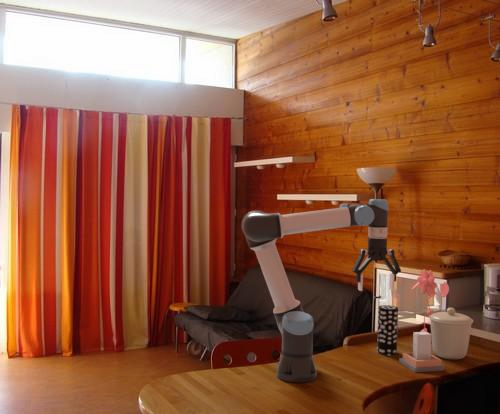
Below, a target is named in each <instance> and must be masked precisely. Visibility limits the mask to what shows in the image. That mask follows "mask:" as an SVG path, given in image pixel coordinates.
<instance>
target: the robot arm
mask: <svg viewBox="0 0 500 414" xmlns="http://www.w3.org/2000/svg"><path fill="white" fill-rule="evenodd" d="M388 220H389V201H388V200H387V199H384V198H382V199H380V198H379V199H377V198H372V199H371V198H370V199H369V200H368V203H349V202H348V203H341V204H340V205H339V207H335V208H328V209H321V210H311V211H304V212H294V213H287V214H281V213H279V212H274V213H273V212H271V213H270V212H269V213H267V212H265V211H263V210H259V209H255V210H251V211H248V213H245V214H244V216H243V218H242V220H241V230H242V232H243V234H244V236H245V240H246V242H247V244H248V247H249V249H250V250H251V251H254V253H255V255H256V258H257V261H258V264H259V265H260V269H261V272H262V274H263V277H264V280H265V283H266V286H267V289H268V291H269V294H270V296H271V299H272V302H273V304H274V305H273V306H274V308H273V311H272V313H273V315H274V318H275V321H276V326H277V328H278V331H279V332H280V335H281V356H280V359H279V362H278V365H277V367H276V377H277V378H278V379H279V380H282V381H285V382H289V383H295V384H297V383H300V384H301V383H310V382H312V381H315V380H316V379H317V376H318V374H317V373H318V372H317V368H316V365H315V361H314V357H313V351H314V350H313V347H314V346H313V343H314V342H313V341H314V327H315V324H314V318H313V316H312V315H311V314H310V313H308V312H307V313H306V312H304V309H303V306H302V304H301V301H300V300H298V299H296V298H295V296H294V292H293V289H292V287H291V284H290V282H289V278H288V276H287V273H286V270H285V267H284V265H283V262H282V259H281V257H280V253H279V252H278V248H277V245H276V242H277V239H283V237H284V236H285V235H295V234H302V233H309V232H316V231H323V230H324V231H325V230H331V229H332V230H333V229H339V228H347V227H357V226H362V227H364V226H367V227H368V228H367V229H368V232H367V236H368V239H367V249H363V248H361V249H360V250H359V255H358V257H357V259H356V261H355V263H354V265H353V267H352V269H351V272H352V273H354V274H356V277H355V278H356V279H355V281H356V282H357V290H358V291H360V292H363V289H364V288H363V287H364V284H363V283H364V274H363V272H364V271H365V270H366V268H367V267H368V266H369V264H371V263H372V262H373V261H374V262H381V261H382V262H383V263H384V264H385V266H386V267H387V268H388V269H389V271H390V273H389V283H388V284H389V286H388V287H389V288H388V289H389V290H390V291H395V283H396V282H397V275H398V274H399V273H401V272H402V269H401V267H400V265H399V262H398V260H397V257H396V256H395V255H396V254H395V250H394V249H390V248H389V249H388V227H389V226H388V223H389V221H388ZM387 254H388V256H389V258H390V260H391V262H390V261H389V258H387ZM366 255H368V256H367V257H366V258H365V256H366ZM364 258H365V260H364Z"/></svg>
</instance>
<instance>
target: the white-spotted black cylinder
mask: <svg viewBox="0 0 500 414" xmlns="http://www.w3.org/2000/svg"><path fill="white" fill-rule="evenodd" d="M377 313H378V314H377V315H378V317H377V343H376V344H377V346H376V352H377V354H379V355H381V356H389V357H391V356H396V355H398V328H399V325H398V324H399V307H398V306H394V305H389V304H388V305H386V304H385V305H384V304H383V305H382V304H381V305H379V306H378V311H377Z"/></svg>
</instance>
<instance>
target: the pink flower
mask: <svg viewBox="0 0 500 414" xmlns="http://www.w3.org/2000/svg"><path fill="white" fill-rule="evenodd" d="M419 274H420V276H418V277H417V278H416V280H417V283H415V284H414V285H413V287H412V288H411V289H410V290H411V291H412V290H414V289H415V288H417V287H418V288H419V289H420V292H421V294H422V295H425V294H427V296H428V297H427V298H426V302H427V306H428V307H427V308H428V310H427V313H425V314H424V315H423V322H424V323H423V329H421V330H420V332H428V328H427V327H426V315H428V317H429V316H430V315H432V314H433V313H434V311H433V310H432V309H431V308H430V304H429V299H431V298H432V297H433V296H436V295H437V296H439V297H442V298H446V297H447V295H448V294H449V292H450V287H449V284H448V283H446V282H445V281H444V282H443V283H442V284H441V286H440V293H441V294H439V293H437V292H436V291H435V289H436V288H438V283H437V282H436V281H435V276H434V275H433V274H434V273H433V271H432V270H431V269H429V271H427V269H425V268H423V270H420V271H419ZM432 351H433V349H431V352H432ZM433 352H434V351H433Z"/></svg>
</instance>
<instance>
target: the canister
mask: <svg viewBox="0 0 500 414" xmlns="http://www.w3.org/2000/svg"><path fill="white" fill-rule="evenodd" d="M428 319H429V321H430V334H431V347H432V350H433V354H435V356H436V357H438V358H441V359H446V360H462V359H464V358H465V357H466V355H467V353H468V347H469V343H470V336H471V331H472V324H473V323H474V319H472V318H471V317H470V316H468V315H466V314H464V313H463V314H462V313H459V312H456V309H455V308H454V307H447V309H446V311H438V312H433V314H432V315H430V316H429V315H428Z"/></svg>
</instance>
